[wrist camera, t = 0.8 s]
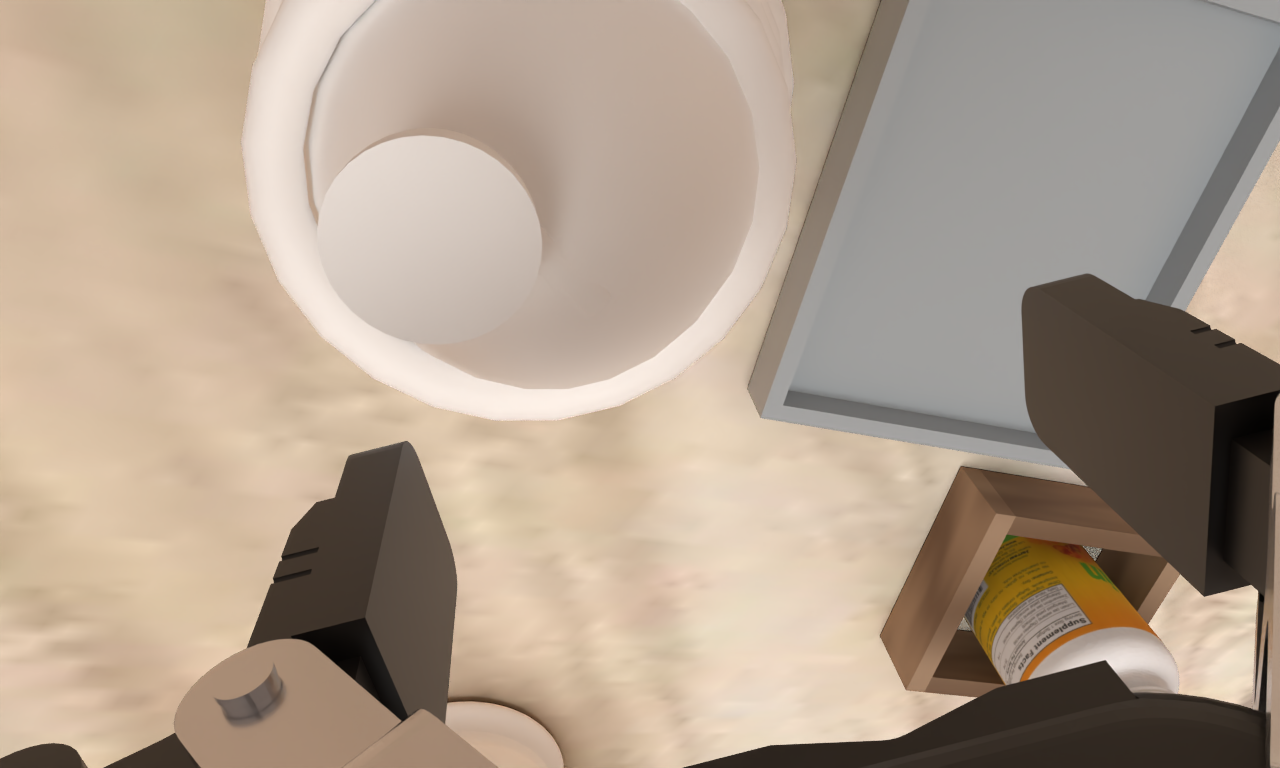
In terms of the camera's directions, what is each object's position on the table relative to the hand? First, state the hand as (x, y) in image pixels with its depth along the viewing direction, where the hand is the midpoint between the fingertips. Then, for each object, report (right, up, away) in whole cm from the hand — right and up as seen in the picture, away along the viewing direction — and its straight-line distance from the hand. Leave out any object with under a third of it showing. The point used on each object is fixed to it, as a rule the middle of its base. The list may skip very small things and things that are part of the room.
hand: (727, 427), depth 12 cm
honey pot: (-4, +10, +15) cm, 19 cm away
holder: (+14, -7, +27) cm, 31 cm away
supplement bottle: (+14, -7, +27) cm, 31 cm away
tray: (+11, +6, +19) cm, 23 cm away
